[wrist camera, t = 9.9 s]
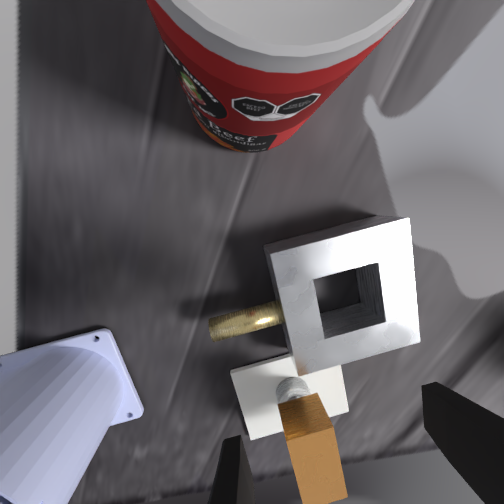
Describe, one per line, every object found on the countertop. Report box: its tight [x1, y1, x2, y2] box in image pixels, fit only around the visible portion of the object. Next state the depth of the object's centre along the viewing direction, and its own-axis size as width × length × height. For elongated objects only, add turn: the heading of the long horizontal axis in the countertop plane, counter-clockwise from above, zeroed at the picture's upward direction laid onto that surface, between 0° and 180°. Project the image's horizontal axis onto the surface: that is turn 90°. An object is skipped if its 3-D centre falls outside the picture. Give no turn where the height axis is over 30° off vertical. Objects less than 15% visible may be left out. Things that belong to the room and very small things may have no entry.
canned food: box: [146, 0, 415, 152], centre depth 10 cm, size 8×8×11 cm
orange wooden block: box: [276, 377, 347, 504], centre depth 17 cm, size 6×3×6 cm, turn 14°
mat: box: [230, 354, 349, 440], centre depth 20 cm, size 9×7×1 cm
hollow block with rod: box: [209, 215, 420, 376], centre depth 17 cm, size 14×9×3 cm, turn 104°
